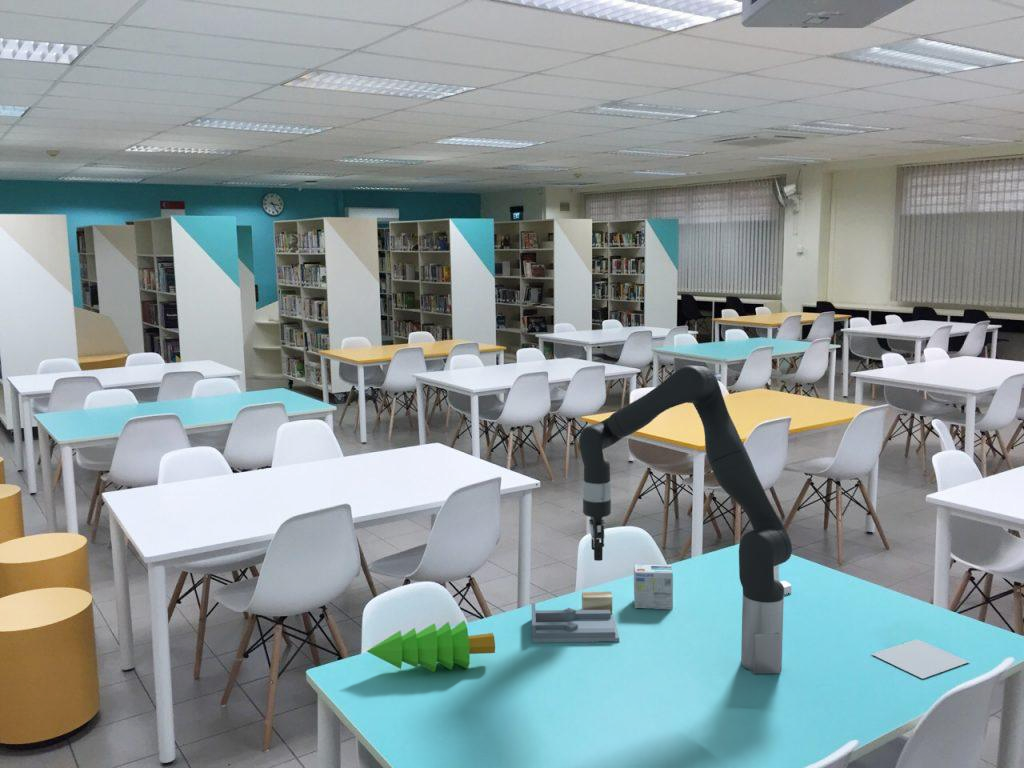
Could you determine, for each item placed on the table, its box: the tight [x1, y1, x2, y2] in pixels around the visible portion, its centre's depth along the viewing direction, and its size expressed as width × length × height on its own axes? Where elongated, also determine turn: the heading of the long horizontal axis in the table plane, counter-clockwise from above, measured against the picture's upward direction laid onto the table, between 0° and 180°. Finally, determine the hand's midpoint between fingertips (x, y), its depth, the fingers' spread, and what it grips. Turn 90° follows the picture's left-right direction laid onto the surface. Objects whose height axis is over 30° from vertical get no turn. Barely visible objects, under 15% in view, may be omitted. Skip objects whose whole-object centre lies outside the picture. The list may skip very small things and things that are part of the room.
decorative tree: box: [366, 620, 496, 673], centre depth 197 cm, size 11×12×30 cm
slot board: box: [531, 602, 620, 643], centre depth 217 cm, size 14×22×4 cm, turn 89°
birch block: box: [581, 590, 613, 614], centre depth 229 cm, size 4×8×5 cm, turn 89°
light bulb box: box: [633, 563, 674, 610], centre depth 232 cm, size 11×7×11 cm, turn 84°
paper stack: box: [871, 638, 970, 679], centre depth 205 cm, size 23×25×1 cm
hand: (596, 554), depth 227 cm, fingers open, 8 cm apart
